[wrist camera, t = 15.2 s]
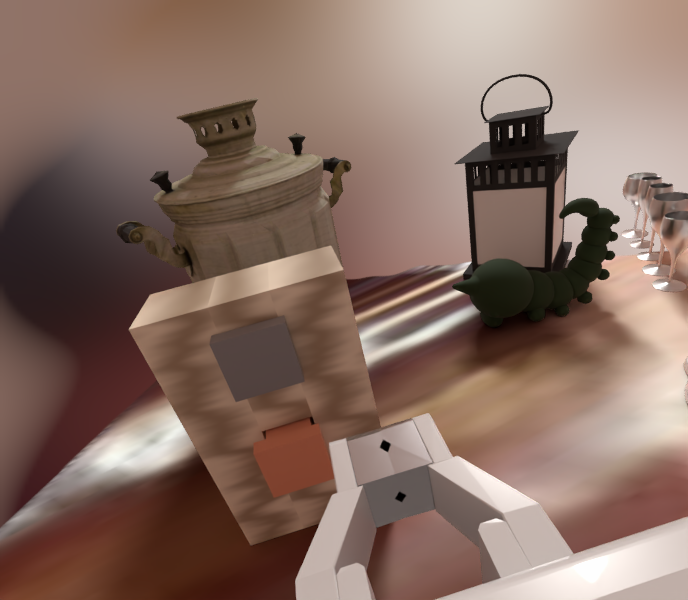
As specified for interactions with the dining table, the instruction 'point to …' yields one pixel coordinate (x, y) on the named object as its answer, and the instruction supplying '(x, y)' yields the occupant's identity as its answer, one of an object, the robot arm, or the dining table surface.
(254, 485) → the block
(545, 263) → the lantern
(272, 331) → the charcoal plug
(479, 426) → the dining table surface
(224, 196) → the samovar
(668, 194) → the goblet set
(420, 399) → the dining table surface
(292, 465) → the terracotta plug
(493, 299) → the toy figurine
